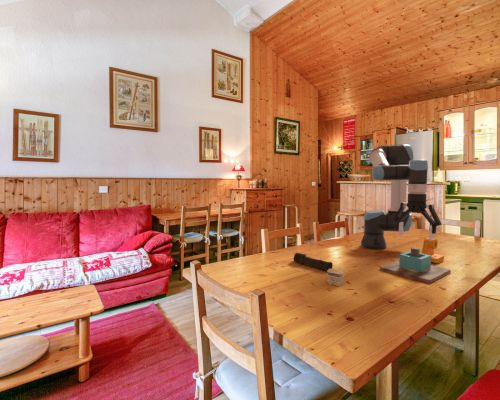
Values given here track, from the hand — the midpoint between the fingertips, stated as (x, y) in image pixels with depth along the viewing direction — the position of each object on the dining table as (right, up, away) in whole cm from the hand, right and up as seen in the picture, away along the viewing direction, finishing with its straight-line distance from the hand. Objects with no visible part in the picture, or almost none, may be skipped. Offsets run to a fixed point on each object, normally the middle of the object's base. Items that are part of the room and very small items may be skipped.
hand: (415, 237), depth 132 cm
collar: (0, -14, +1) cm, 14 cm away
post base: (0, -16, +1) cm, 16 cm away
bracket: (+19, -15, +17) cm, 30 cm away
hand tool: (-47, -17, +11) cm, 51 cm away
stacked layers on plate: (-42, -18, -12) cm, 47 cm away
